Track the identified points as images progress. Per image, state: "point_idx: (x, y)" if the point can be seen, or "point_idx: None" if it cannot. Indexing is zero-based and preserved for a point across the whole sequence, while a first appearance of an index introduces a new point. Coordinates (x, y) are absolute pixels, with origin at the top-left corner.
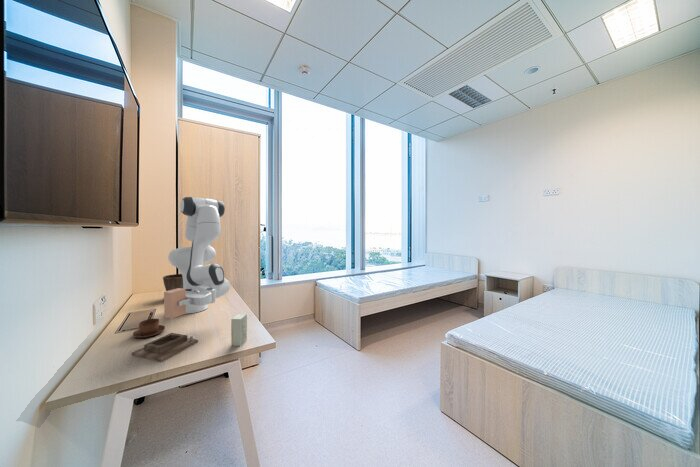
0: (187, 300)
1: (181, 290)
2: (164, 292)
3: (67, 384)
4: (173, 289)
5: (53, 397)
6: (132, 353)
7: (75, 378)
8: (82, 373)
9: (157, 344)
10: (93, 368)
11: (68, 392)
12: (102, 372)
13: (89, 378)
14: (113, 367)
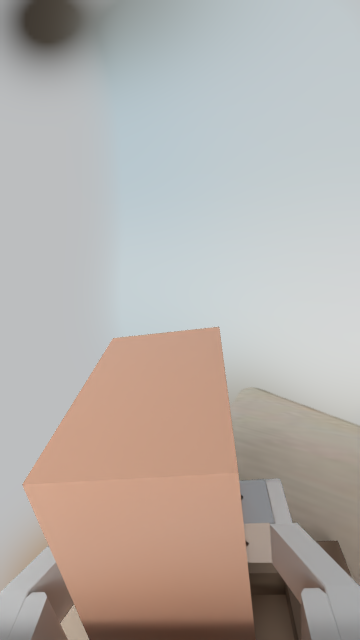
0: (23, 581)
1: (67, 427)
2: (211, 332)
3: (286, 409)
4: (218, 390)
5: (251, 391)
6: (333, 544)
7: (305, 422)
8: (323, 435)
9: (294, 634)
10: (333, 454)
11: (244, 402)
12: (276, 452)
13: (271, 431)
14: (281, 475)
